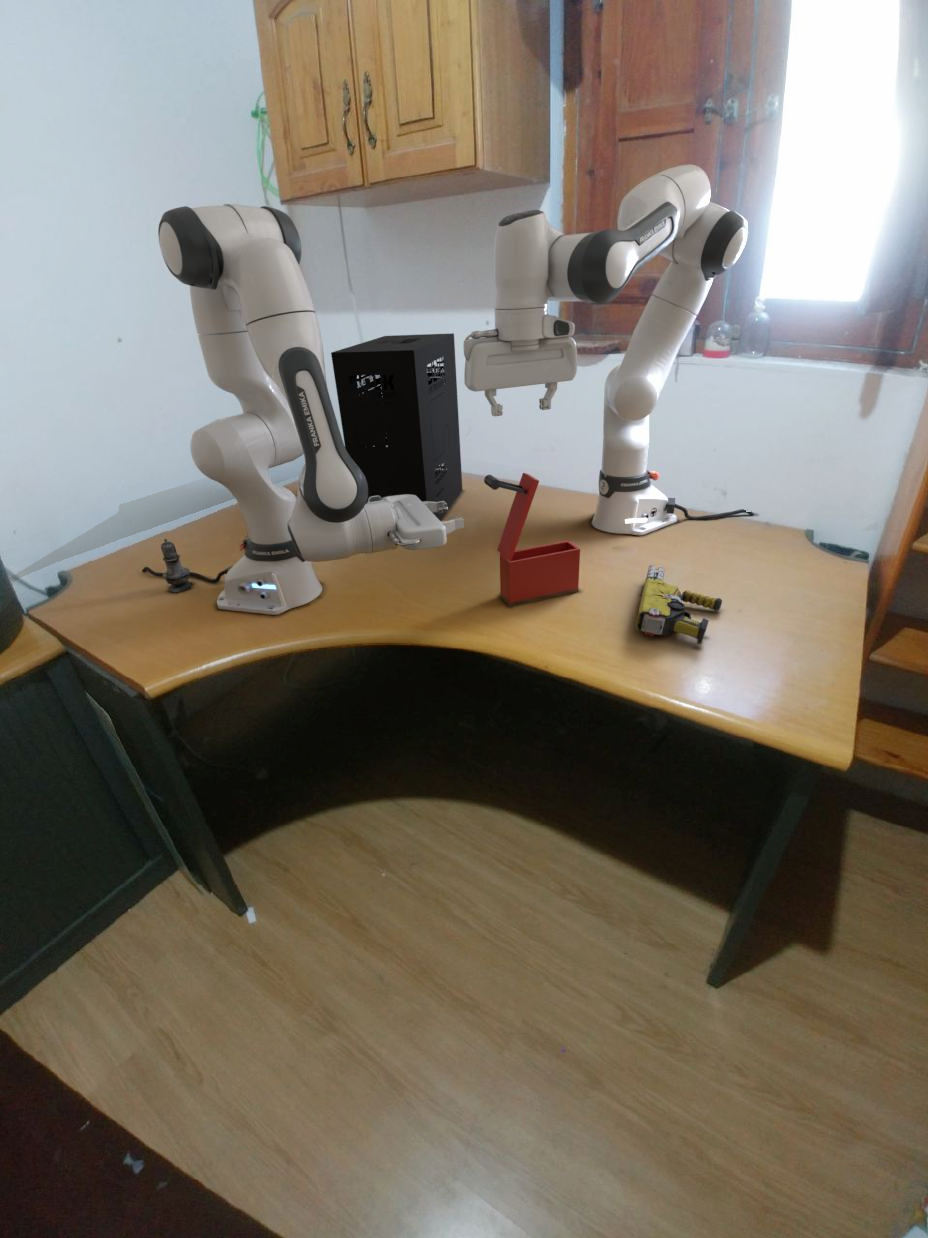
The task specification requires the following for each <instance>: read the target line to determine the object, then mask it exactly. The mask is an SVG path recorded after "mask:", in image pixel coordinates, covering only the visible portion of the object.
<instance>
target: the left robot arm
mask: <svg viewBox="0 0 928 1238" xmlns="http://www.w3.org/2000/svg"><path fill="white" fill-rule="evenodd" d="M158 223H159V224H158V233H157V235H158V243H159V248H160V252H161V255H162V258H163V261H164V263H165V265H166V267H167V269H168V271H169V272H170V273H171V275H172V276H173V277H174V278H175V279H177V280H178V282H180V283H182V284H184V285H187V286H189V294H190V303H191V311H192V316H193V322H194V325H195V330H196V334H197V338H198V342H199V345H200V350H201V353H202V358H203V361H204V365H205V368H206V369H205V370H206V373H207V376H208V378H209V380H210V381H211V382H212V384H213V385H215V386H216V387H217V388H219V389H220V390H222V391H225V392H226V393H230V394H231V395H232V394H233V395H234V397H236V399H237V401H238V402H239V404H240V407H241V409H242V413H239V414H235V415H234V414H233V415H231V416H225V417H222V418H217V419H215V420H212V421H211V422H209V423H207V424H205V425H203V426H201V427H199V428H197V429H196V430H195V431H194V432H193V433H192V435H191V438H190V445H189V446H190V447H189V449H190V455H191V458H192V460H193V463H194V465H195V467H196V468H197V469H198V471H199V472H200V473H201V474H203V476H205V477H207V478H208V479H210V480H212V481H214V482H217V483H218V484H220V485H222V486H223V487H225V488H226V489H227V490H228V491H229V492H230V494H232V496H233V497H234V498H235V500H236V502H237V503H238V506H239V508H240V511H241V515H242V517H243V520H244V523H245V527H246V532H247V534H246V537H245V538H244V539H243V540H242V541H241V542H242V543H240V545H239V546H238V548H240V549H239V551H240V552H242V551H243V550H244V554H243V555H242V556H241V557H240V558H239V559H238V560H237V561H236V562H235V563H234V564H232V565H230V566H228V567H227V568H224V570H222V571H220V572H219V573H218V574H217V575H216V577H215V578H209V577H207V576H204V575H203V574H200V573H197V572H193V571H190V572H189V574H190V575H189V577H190V576H191V577H196V578H198V579H201V580H203V581H205V582H208V583H211V584H213V583H214V584H215V583H218V582H219V581H220V580H221V578H222V577H223V576H224V575H225V576H224V582H223V583H224V586H223V588H224V589H223V590H222V591H221V592H220V593H219V595H218V596H217V599H216V607H217V609H219V610H226V611H235V612H244V613H252V614H253V613H254V614H263V615H272V616H277V615H281V614H282V613H285V612H286V611H288V610H291V609H294V608H297V607H301V606H303V605H306V604H309V603H310V602H313V601H314V600H315V599H317V598H318V597H320V595H321V594H322V592H323V586H322V584H321V582H320V580H319V578H318V577H317V574H316V571H315V569H314V567H313V564H312V563H321V562H331V561H338V560H343V559H349V558H350V557H352V556H355V555H359V554H367V555H371V554H377V553H381V552H386V551H391V550H392V551H393V550H396V549H397V548H398V546H400V547H403V549H405V550H408V551H419V550H428V549H435V548H436V549H437V548H441V547H443V546H445V545H446V544H447V542H448V539H447V535H449V534H451V533H452V532H454V531H455V530H460V529H463V528H465V520H464V519H463V518H462V516H461V515H460V516H454V517H451V519H449V520H441V521H440V520H439V519H438V518H437V517H436V516H435V515H434V514H433V513H432V512H439V513H443V512H447V513H448V511H449V510H448V508H447V504H446V503H445V502H444V501H440V502H431V501H424V502H422V501H421V500H420V499H419V498H418V497H417V496H416V495H411V494H404V495H394V496H387V497H383V498H381V497H380V496H372V497H369V500H368V502H367V504H366V501H367V498H368V484H367V481H366V478H365V476H364V474H363V472H362V471H361V470H360V468H359V467H358V466H357V464H356V463H355V462H354V461H353V459H352V458H351V457H350V455H349V454H348V452H347V450H346V448H345V443H344V439H343V438H342V434H341V433H342V432H341V431H340V426H339V423H338V420H337V417H336V414H335V410H334V407H333V404H332V399H331V397H330V393H329V389H328V383H327V375H326V365H325V355H324V353H325V352H324V346H323V339H322V334H321V329H320V324H319V320H318V315H317V313H316V308H315V306H314V302H313V298H312V296H311V292H310V290H309V287H308V284H307V282H306V279H305V276H304V274H303V271H302V269H301V267H300V264H301V260H302V242H301V237H300V234H299V231H298V229H297V227H296V225H295V223H294V221H293V220H292V218H291V216H289V215H288V214H287V213H286V212H284V211H282V210H280V209H277V208H275V207H271V206H267V205H262V206H260V207H258V206H252V205H245V204H234V203H224V204H223V205H222V204H221V205H204V206H196V207H190V206H179V207H175V208H171V209H169V210H167V211H165V212H164V213H163V214H162V215H161V218H160V221H159V222H158ZM302 456H304V463H305V464H304V465H303V466H302V468H301V471H300V472H299V477H298V486H297V493H296V494H297V495H295V494H294V493H293V492H292V491H291V490H290V489H288V488H287V487H284V486H282V485H279V484H274V482H273V480H272V478H271V476H270V475H271V474H270V469H272V468H274V467H279V466H281V465H284V464H287V463H291V462H294V461H295V460H297V459H298V458H300V457H302ZM447 510H448V511H447ZM141 572H142V573H146V572H148V573H149V574H151V575H153V576H155V577H163V576H162V575H163V574H164V573H165V572H157V571H155V570H153V569H152V568H150V567H148V566H144V567H143V568H142V570H141Z"/></svg>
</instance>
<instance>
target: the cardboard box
mask: <svg viewBox="0 0 928 1238" xmlns="http://www.w3.org/2000/svg"><path fill="white" fill-rule="evenodd" d="M455 345H456V344H455V333H453V332H452V333H429V334H427V333H426V334H425V333H424V334H423V333H422V334H399V335H384V336H383V335H382V336H380V337H377V338H373V339H370V340H367V341H365V342H360V343H358V344H354V345H351V346H348V347H344V348H341V349H337V350H335V351H332V352H330V355H331V361H332V368H333V375H334V382H335V389H336V395H337V402H338V409H339V416H340V422H341V430H342V436H343V443H344V446H345V448H346V450H347V452H348V454H349V455H350V457H351V458H352V459H353V461H354V462H355V463H356V464H357V466H358V467H359V468H360V470H361V471H362V472H363V474H364V476H365V478H366V481H367V484H368V498H367V501H366V504H367V502H368V500H369V497H372V496H380V497H381V498H383V497H387V496H394V495H404V494H411V495H416V496H417V497H418V498H419V499H420V500H421V501H422V502H424V501H431V502H440V501H444V502H445V503H446V504H447V508H448V510H447V512H443V513H439V512H432V513H433V514H434V515H435V516H436V517H437V518H438V519H439V520H440V521H442V520H443V518H444V517H445V516H446V514H447V513H448V512H449V509H451V507H452V506H453V504H454V503H455V501H456V500H457V499H458V497H459V496H460V495H461V494H462V491H463V475H462V458H461V457H462V456H461V455H462V454H461V440H460V437H461V436H460V421H459V418H460V417H459V404H458V403H459V402H458V400H459V399H458V383H457V381H458V380H457V365H456V363H457V362H456V346H455ZM438 360H439V361H438ZM435 363H436V364H435ZM428 365H430V366H428Z"/></svg>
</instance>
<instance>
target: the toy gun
mask: <svg viewBox="0 0 928 1238" xmlns="http://www.w3.org/2000/svg"><path fill="white" fill-rule="evenodd" d="M655 570H656V571H657V570H658V571H657V572H655ZM664 576H665V567H664V566H660V565H659V566H658V568H656V564H655V565H654V564H650V565H649V566H648V568H647V573H646V577H645V580H644V584H643V589H642V593H641V598H640V602H639V608H638V612H637V613H638V614H637V618H636V623H635V628H636V629H637V631H639V632H642V633H643V632H644V635H645V636H650V637H654V636H655V635H658V636H666V635H669V634H671V633H673V632H675V633H679V634H682V635H686V636H689V637H691V638H694V639H696V640H697V644H700V645H701V644H702V643H703V640H704V638H705V635H706V632H707V629H708V625H709V621H710V620H709V619H706V618H705V617H704V618H702V620H701V622H700V621H698V620H694V619H692V615H691V614H690V612H689V611H686V610H687V609H686V605H685V604H684V603H683V602H685V603H689V604H692V605H696V606H699V607H701V606H702V607H703V608H705V609H706V608H709V610H713V611H715V612H719V611H720V609H721V608H722V603H723V599H722V598H720V597H718V598H717V597H715V596H714V597H711V596H710V595H704V594H703V593H697V592H695V591H694V592H691V590H688V589H685V590H684V591H682V593H681V589H680V588H678V586H676V585H671V584H669V583H667V582H664Z"/></svg>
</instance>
